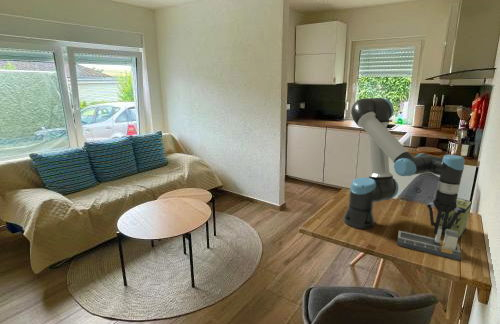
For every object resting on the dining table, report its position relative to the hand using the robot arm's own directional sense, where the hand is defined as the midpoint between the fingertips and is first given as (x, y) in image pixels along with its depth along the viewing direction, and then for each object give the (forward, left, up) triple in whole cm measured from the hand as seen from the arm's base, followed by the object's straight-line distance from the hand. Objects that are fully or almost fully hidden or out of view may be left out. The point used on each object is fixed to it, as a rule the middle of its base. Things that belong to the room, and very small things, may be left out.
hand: (437, 240), depth 131 cm
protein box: (+7, +23, -4) cm, 25 cm away
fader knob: (+5, 0, -1) cm, 5 cm away
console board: (-4, 0, -4) cm, 5 cm away
